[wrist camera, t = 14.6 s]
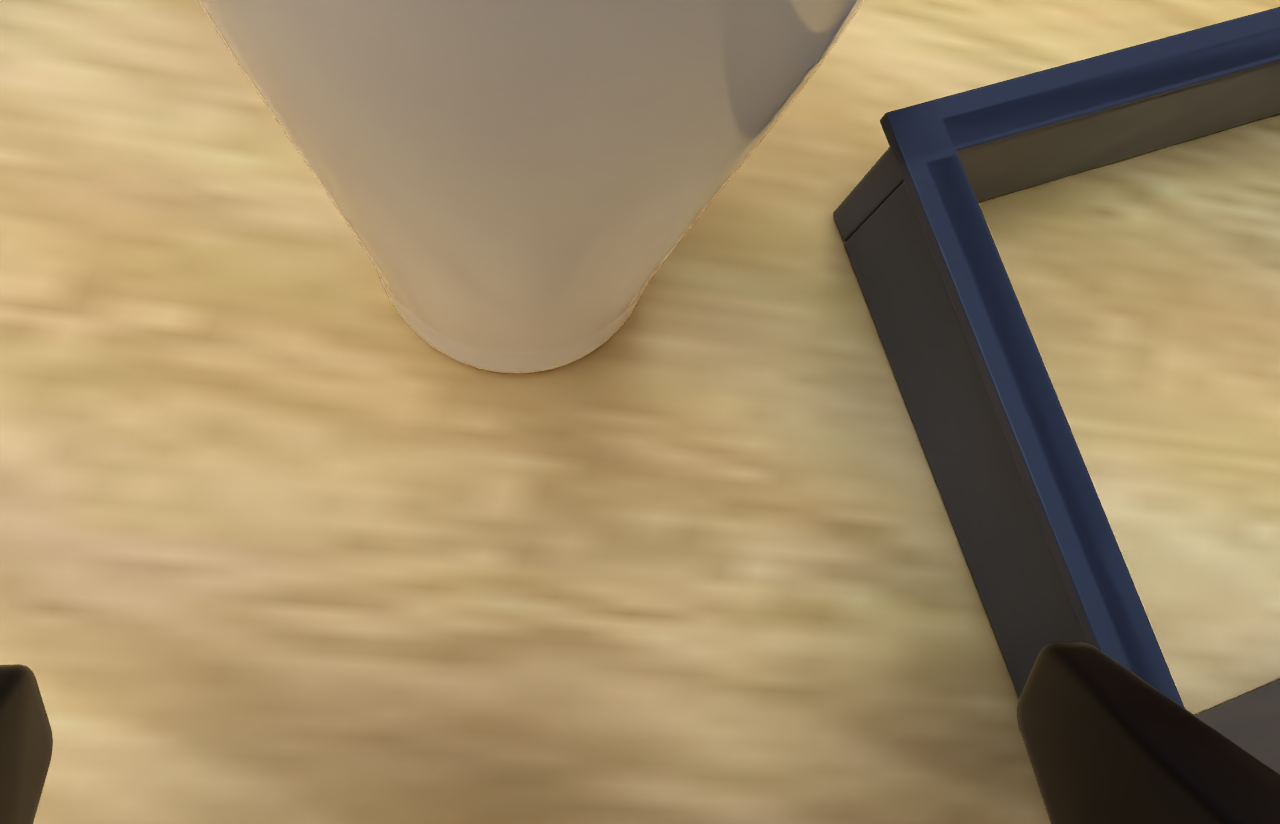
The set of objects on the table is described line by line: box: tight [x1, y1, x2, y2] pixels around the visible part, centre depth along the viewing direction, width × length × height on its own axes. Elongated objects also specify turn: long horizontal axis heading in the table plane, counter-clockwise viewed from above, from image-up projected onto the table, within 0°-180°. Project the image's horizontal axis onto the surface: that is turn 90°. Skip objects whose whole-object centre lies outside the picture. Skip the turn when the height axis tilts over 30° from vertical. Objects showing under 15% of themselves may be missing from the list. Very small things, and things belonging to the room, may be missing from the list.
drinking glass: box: [198, 0, 864, 373], centre depth 12 cm, size 7×7×15 cm
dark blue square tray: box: [834, 7, 1280, 774], centre depth 19 cm, size 13×13×4 cm
